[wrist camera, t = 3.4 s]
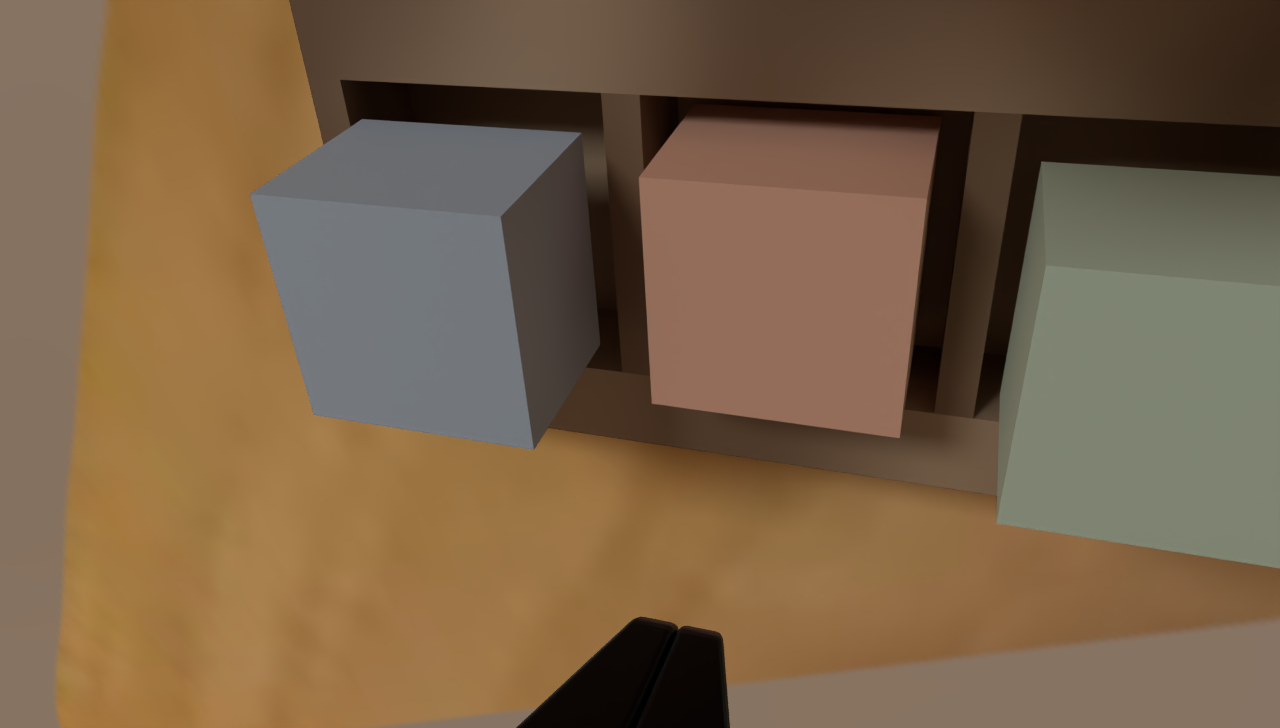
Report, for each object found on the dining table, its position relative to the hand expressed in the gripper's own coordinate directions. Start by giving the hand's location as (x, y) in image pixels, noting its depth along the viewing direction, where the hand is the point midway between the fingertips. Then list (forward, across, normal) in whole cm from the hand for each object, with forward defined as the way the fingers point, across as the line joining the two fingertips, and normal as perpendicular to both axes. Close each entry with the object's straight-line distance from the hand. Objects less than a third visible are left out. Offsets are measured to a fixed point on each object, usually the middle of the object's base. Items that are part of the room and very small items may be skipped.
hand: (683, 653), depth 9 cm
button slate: (+8, +6, 0) cm, 9 cm away
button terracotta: (+9, 0, 0) cm, 9 cm away
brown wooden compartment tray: (+10, 0, 0) cm, 10 cm away
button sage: (+8, -5, 0) cm, 9 cm away
